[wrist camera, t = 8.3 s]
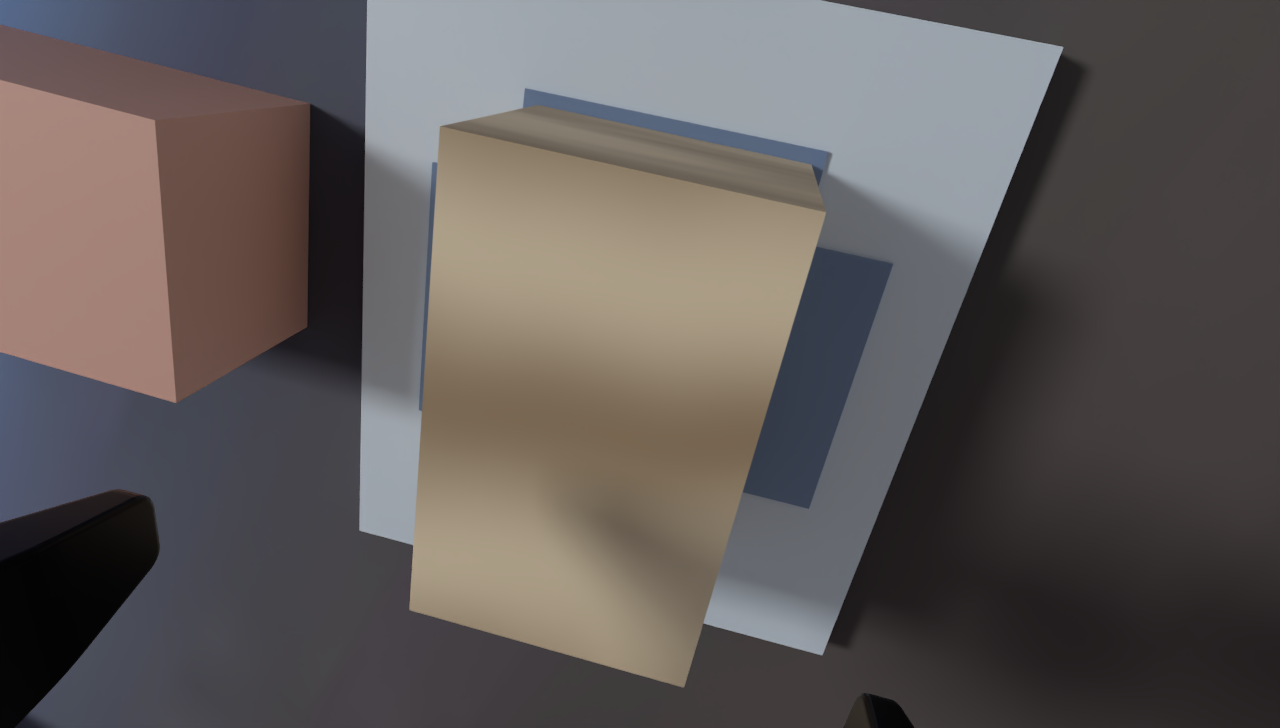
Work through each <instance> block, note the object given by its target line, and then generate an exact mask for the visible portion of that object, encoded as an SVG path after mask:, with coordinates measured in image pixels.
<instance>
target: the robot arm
mask: <svg viewBox="0 0 1280 728" xmlns="http://www.w3.org/2000/svg"><path fill="white" fill-rule="evenodd" d="M159 549H160V543H159V536H158V528H157V521H156V514H155V507H154V504H153V502H152V501H151V499H150V498H149V497H147V496H144V495H141V494H137V493H133V492H130V491H126V490H120V489H116V490H110V491H107V492H103V493H100V494H97V495H93V496H90V497H86V498H83V499H80V500H76V501H73V502H69V503H66V504H62V505H59V506H56V507H52V508H49V509H45V510H42V511H39V512H35V513H32V514H28V515H25V516H21V517H18V518H15V519H11V520H8V521H4V522H1V523H0V728H15V727H16V726H17V725H18V724H19V723H20V722H21V721H22V720H23V719H24V718H25V717H26V715H27V714H28V713H29V712H30V711H31V710H32V709H33V708H34V707H35V706H36V705H37V704H38V703H39V702H40V701H41V700H42V699H43V698H44V697H45V696H46V695H47V693H48V692H49V691H50V690H51V689H52V688H53V687H54V686H55V685H56V684H57V683H58V682H59V681H60V679H61V678H62V677H63V676H64V675H65V674H66V673H67V672H68V671H69V669H70V668H71V667H72V666H73V665H74V663H75V662H76V661H77V660H78V659H79V657H80V656H81V655H82V654H83V653H84V651H85V650H86V649H87V648H88V646H89V645H90V644H91V643H92V642H93V640H94V639H95V638H96V637H97V635H98V634H99V633H100V632H101V630H102V629H103V628H104V627H105V625H106V624H107V623H108V622H109V620H110V619H111V618H112V617H113V615H114V614H115V613H116V612H117V610H118V609H119V608H120V607H121V605H122V604H123V603H124V602H125V600H126V599H127V598H128V597H129V595H130V594H131V593H132V592H133V590H134V589H135V588H136V587H137V585H138V584H139V583H140V582H141V580H142V579H143V578H144V577H145V575H146V574H147V573H148V572H149V571H150V569H151V568H152V566H153V565H154V563H155V561H156V560H157V557H158V554H159ZM844 728H914V726H913V725H912V723H911V722H910V720H909V719H908V717H907V716H906V714H905V713H904V711H903V709H902V708H901V707H900V706H899V705H898V704H897V703H896V702H895V701H893V700H890V699H887V698H883V697H879V696H876V695H872V694H869V693H862V694H860V695H859V696H858V698H857V699H856V701H855V703H854V705H853V707H852V710H851V712H850V714H849V716H848V719H847V721H846V723H845V725H844Z"/></svg>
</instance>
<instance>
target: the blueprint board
mask: <svg viewBox="0 0 1280 728" xmlns="http://www.w3.org/2000/svg"><path fill="white" fill-rule="evenodd" d="M1062 50H1063V47H1061V46H1055V45H1050V44H1045V43H1040V42H1035V41H1029V40H1024V39H1019V38H1014V37H1009V36H1003V35H998V34H993V33H988V32H983V31H977V30H972V29H967V28H962V27H956V26H951V25H946V24H941V23H936V22H930V21H925V20H920V19H915V18H910V17H904V16H899V15H894V14H889V13H884V12H878V11H873V10H868V9H863V8H857V7H852V6H847V5H842V4H837V3H831V2H826V1H821V0H367V55H366V122H365V190H364V258H363V325H362V393H361V461H360V528H359V530H360V531H363V532H367V533H371V534H374V535H378V536H382V537H386V538H389V539H393V540H397V541H400V542H404V543H408V544H411V545H414V529H415V513H416V497H417V482H418V466H419V450H420V434H421V418H422V402H423V386H424V370H425V354H426V339H427V323H428V307H429V291H430V275H431V259H432V243H433V227H434V211H435V196H436V180H437V164H438V148H439V132H440V126H443V125H448V124H453V123H457V122H462V121H466V120H471V119H476V118H480V117H485V116H489V115H494V114H499V113H503V112H508V111H512V110H517V109H521V108H526V107H531V106H535V105H541V106H546V107H550V108H555V109H559V110H564V111H569V112H573V113H578V114H582V115H587V116H591V117H596V118H601V119H605V120H610V121H614V122H619V123H624V124H628V125H633V126H637V127H642V128H646V129H651V130H656V131H660V132H665V133H669V134H674V135H679V136H683V137H688V138H692V139H697V140H701V141H706V142H711V143H715V144H720V145H724V146H729V147H734V148H738V149H743V150H747V151H752V152H757V153H761V154H766V155H770V156H775V157H779V158H784V159H789V160H793V161H798V162H802V163H807V164H811V165H812V168H813V171H814V174H815V177H816V181H817V184H818V187H819V190H820V194H821V197H822V200H823V203H824V207H825V210H826V215H825V219H824V222H823V225H822V229H821V232H820V235H819V239H818V242H817V245H816V249H815V252H814V255H813V259H812V262H811V265H810V269H809V272H808V275H807V279H806V282H805V285H804V289H803V292H802V295H801V299H800V302H799V305H798V309H797V312H796V315H795V319H794V322H793V325H792V329H791V332H790V336H789V339H788V342H787V346H786V349H785V352H784V356H783V359H782V362H781V366H780V369H779V372H778V376H777V379H776V382H775V386H774V389H773V392H772V396H771V399H770V402H769V406H768V409H767V412H766V416H765V419H764V422H763V426H762V429H761V432H760V436H759V439H758V442H757V446H756V449H755V452H754V456H753V459H752V462H751V466H750V469H749V472H748V476H747V479H746V482H745V486H744V489H743V492H742V496H741V499H740V502H739V506H738V509H737V512H736V516H735V519H734V522H733V526H732V529H731V532H730V536H729V539H728V542H727V546H726V549H725V552H724V556H723V559H722V562H721V566H720V569H719V572H718V576H717V579H716V582H715V586H714V589H713V592H712V596H711V599H710V602H709V606H708V609H707V612H706V616H705V619H704V622H703V623H704V624H708V625H711V626H715V627H719V628H723V629H726V630H730V631H734V632H737V633H741V634H745V635H749V636H752V637H756V638H760V639H763V640H767V641H771V642H774V643H778V644H782V645H786V646H789V647H793V648H797V649H800V650H804V651H808V652H811V653H815V654H819V655H823V652H824V650H825V647H826V644H827V642H828V639H829V637H830V634H831V632H832V629H833V627H834V624H835V622H836V619H837V617H838V614H839V612H840V609H841V607H842V604H843V602H844V599H845V597H846V594H847V592H848V589H849V587H850V584H851V581H852V579H853V576H854V574H855V571H856V569H857V566H858V564H859V561H860V559H861V556H862V554H863V551H864V549H865V546H866V544H867V541H868V539H869V536H870V534H871V531H872V529H873V526H874V524H875V521H876V518H877V516H878V513H879V511H880V508H881V506H882V503H883V501H884V498H885V496H886V493H887V491H888V488H889V486H890V483H891V481H892V478H893V476H894V473H895V471H896V468H897V466H898V463H899V461H900V458H901V455H902V453H903V450H904V448H905V445H906V443H907V440H908V438H909V435H910V433H911V430H912V428H913V425H914V423H915V420H916V418H917V415H918V413H919V410H920V408H921V405H922V403H923V400H924V398H925V395H926V392H927V390H928V387H929V385H930V382H931V380H932V377H933V375H934V372H935V370H936V367H937V365H938V362H939V360H940V357H941V355H942V352H943V350H944V347H945V345H946V342H947V340H948V337H949V335H950V332H951V329H952V327H953V324H954V322H955V319H956V317H957V314H958V312H959V309H960V307H961V304H962V302H963V299H964V297H965V294H966V292H967V289H968V287H969V284H970V282H971V279H972V277H973V274H974V272H975V269H976V266H977V264H978V261H979V259H980V256H981V254H982V251H983V249H984V246H985V244H986V241H987V239H988V236H989V234H990V231H991V229H992V226H993V224H994V221H995V219H996V216H997V214H998V211H999V209H1000V206H1001V203H1002V201H1003V198H1004V196H1005V193H1006V191H1007V188H1008V186H1009V183H1010V181H1011V178H1012V176H1013V173H1014V171H1015V168H1016V166H1017V163H1018V161H1019V158H1020V156H1021V153H1022V151H1023V148H1024V146H1025V143H1026V140H1027V138H1028V135H1029V133H1030V130H1031V128H1032V125H1033V123H1034V120H1035V118H1036V115H1037V113H1038V110H1039V108H1040V105H1041V103H1042V100H1043V98H1044V95H1045V93H1046V90H1047V88H1048V85H1049V83H1050V80H1051V77H1052V75H1053V72H1054V70H1055V67H1056V65H1057V62H1058V60H1059V57H1060V55H1061V52H1062Z"/></svg>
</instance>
